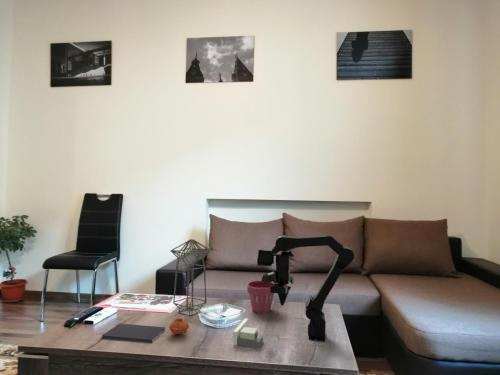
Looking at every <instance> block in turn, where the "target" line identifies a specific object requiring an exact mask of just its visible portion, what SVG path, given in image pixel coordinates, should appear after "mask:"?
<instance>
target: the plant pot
mask: <svg viewBox="0 0 500 375" xmlns="http://www.w3.org/2000/svg"><path fill="white" fill-rule="evenodd" d="M261 280H262V279H260V280H252V281H249V282H248V283H246V284H247V285H246V286H247V293H248V295H249V300H250V306H251V310H252V311H253V312H254V313H257V314H265V313H266V314H267V313H269V312H270V311H271V310H272V309H271V308H272V304H273V300H274V295H275V293H270V287H271V286H272V285H273V284H274V283H273V282H269V283H267V284H264V283H263V282H262V281H261Z"/></svg>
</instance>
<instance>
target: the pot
mask: <svg viewBox="0 0 500 375" xmlns="http://www.w3.org/2000/svg"><path fill="white" fill-rule="evenodd" d="M189 327H190V324H189V323H188V322H187V321H186V320H185V319H184V318H180V317H178V318H175V319H174V320H172V322H171V323H170V324H169V326H168V328H169V331H170V332H171V335H172V337H175V335H182V334H184V336H187V332H188V329H189Z"/></svg>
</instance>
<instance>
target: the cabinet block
mask: <svg viewBox="0 0 500 375" xmlns="http://www.w3.org/2000/svg"><path fill="white" fill-rule="evenodd" d="M258 332H259V331H258V328H254V327H244V328H243V329H242V330H241V331H240V338H243V339H250V340H257V339H258V338H259V333H258Z"/></svg>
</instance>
